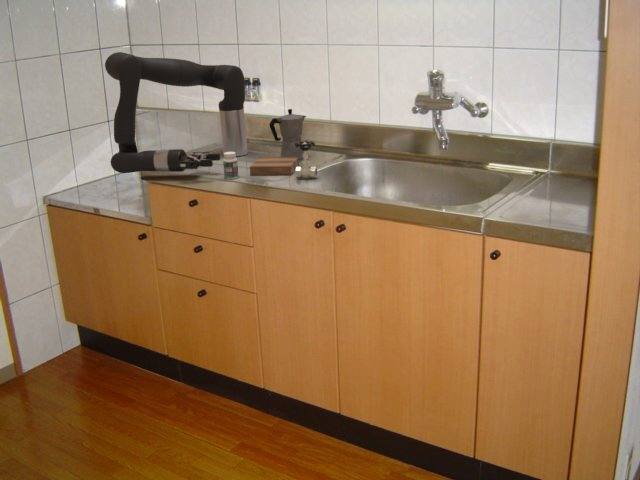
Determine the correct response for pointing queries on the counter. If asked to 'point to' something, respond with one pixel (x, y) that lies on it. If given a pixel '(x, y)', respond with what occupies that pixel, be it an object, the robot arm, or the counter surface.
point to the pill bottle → (230, 165)
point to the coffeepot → (289, 133)
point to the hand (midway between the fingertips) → (216, 160)
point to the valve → (305, 162)
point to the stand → (274, 166)
